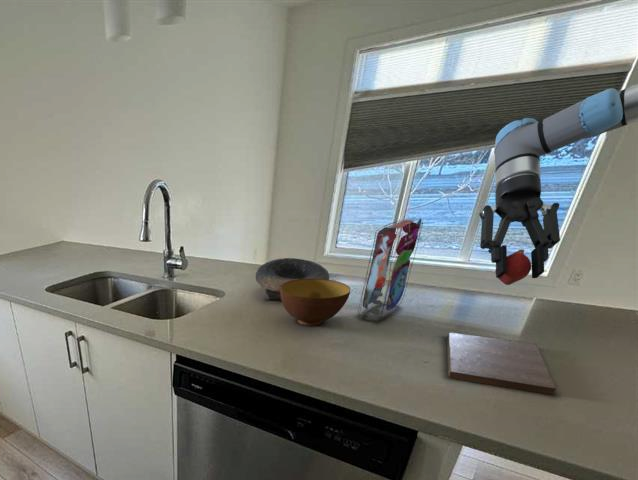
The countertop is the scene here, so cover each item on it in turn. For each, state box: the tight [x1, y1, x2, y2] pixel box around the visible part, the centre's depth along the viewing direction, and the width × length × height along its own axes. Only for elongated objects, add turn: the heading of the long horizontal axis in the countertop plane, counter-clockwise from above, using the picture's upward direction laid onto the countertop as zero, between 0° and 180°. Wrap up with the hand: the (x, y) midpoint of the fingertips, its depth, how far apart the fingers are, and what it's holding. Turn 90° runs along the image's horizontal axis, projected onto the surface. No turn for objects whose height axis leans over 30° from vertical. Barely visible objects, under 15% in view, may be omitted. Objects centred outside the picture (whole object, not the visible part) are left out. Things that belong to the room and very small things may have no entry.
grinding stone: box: [255, 257, 330, 301], centre depth 135 cm, size 23×25×10 cm
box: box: [357, 218, 424, 323], centre depth 113 cm, size 25×6×24 cm, turn 131°
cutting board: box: [446, 332, 557, 396], centre depth 88 cm, size 22×16×2 cm
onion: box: [494, 248, 532, 286], centre depth 90 cm, size 6×6×8 cm
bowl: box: [280, 279, 351, 327], centre depth 113 cm, size 18×18×10 cm
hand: (519, 274), depth 88 cm, fingers closed on onion, 6 cm apart
